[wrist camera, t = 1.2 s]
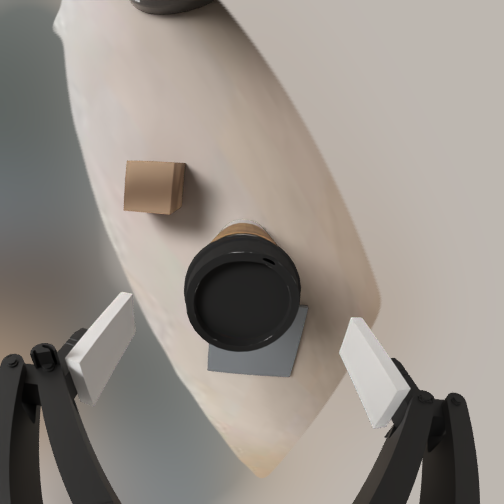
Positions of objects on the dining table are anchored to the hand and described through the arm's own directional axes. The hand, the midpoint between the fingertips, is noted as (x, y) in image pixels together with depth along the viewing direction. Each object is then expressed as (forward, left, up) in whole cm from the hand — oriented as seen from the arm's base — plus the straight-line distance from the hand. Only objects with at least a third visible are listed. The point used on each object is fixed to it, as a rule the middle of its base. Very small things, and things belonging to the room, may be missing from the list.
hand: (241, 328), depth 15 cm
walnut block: (-6, -10, -17) cm, 21 cm away
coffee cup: (0, 0, -17) cm, 17 cm away
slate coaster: (+13, +3, -17) cm, 21 cm away
